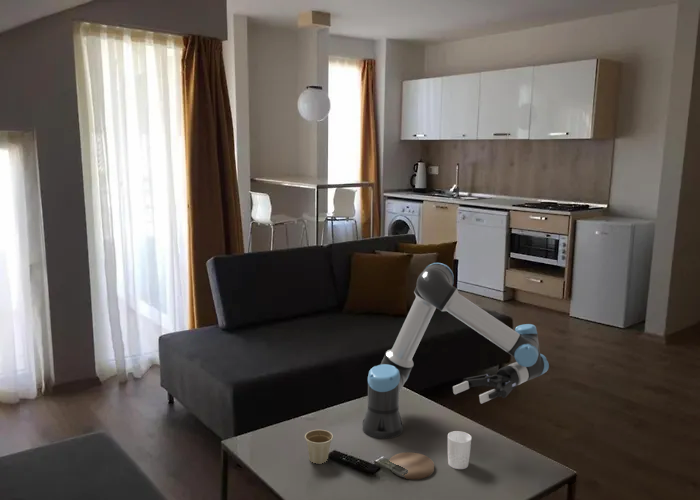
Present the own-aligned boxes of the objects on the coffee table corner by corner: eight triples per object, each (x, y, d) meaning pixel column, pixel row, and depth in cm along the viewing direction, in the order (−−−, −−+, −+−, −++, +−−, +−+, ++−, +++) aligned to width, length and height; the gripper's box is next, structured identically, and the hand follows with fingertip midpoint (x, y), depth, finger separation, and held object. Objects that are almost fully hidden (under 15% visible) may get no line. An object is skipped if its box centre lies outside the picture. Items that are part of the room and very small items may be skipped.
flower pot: (337, 456, 205) (337, 433, 203) (324, 469, 197) (325, 445, 195) (313, 450, 209) (313, 427, 207) (299, 463, 200) (299, 439, 199)
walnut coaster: (379, 464, 200) (379, 461, 200) (411, 451, 209) (412, 447, 209) (410, 484, 189) (410, 481, 188) (443, 469, 198) (443, 466, 198)
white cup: (470, 471, 197) (471, 443, 195) (445, 468, 198) (447, 440, 197) (470, 459, 204) (471, 432, 203) (446, 456, 206) (448, 429, 204)
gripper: (540, 393, 203) (494, 414, 193) (489, 378, 225) (445, 397, 215) (537, 372, 202) (490, 392, 192) (486, 359, 224) (441, 377, 214)
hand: (466, 394), depth 203 cm, fingers open, 13 cm apart
